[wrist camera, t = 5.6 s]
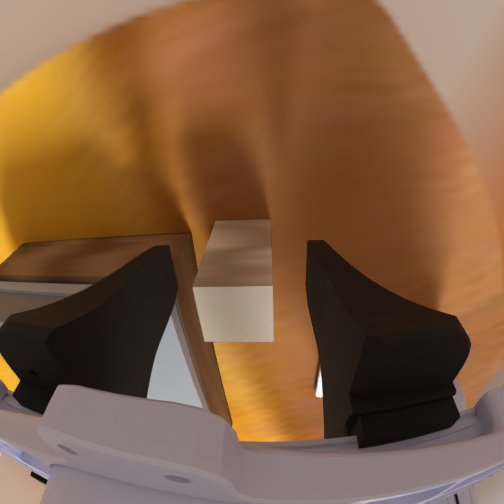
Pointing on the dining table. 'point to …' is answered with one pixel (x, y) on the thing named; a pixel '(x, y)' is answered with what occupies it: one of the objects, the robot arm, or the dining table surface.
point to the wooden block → (236, 283)
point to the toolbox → (111, 259)
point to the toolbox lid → (167, 357)
